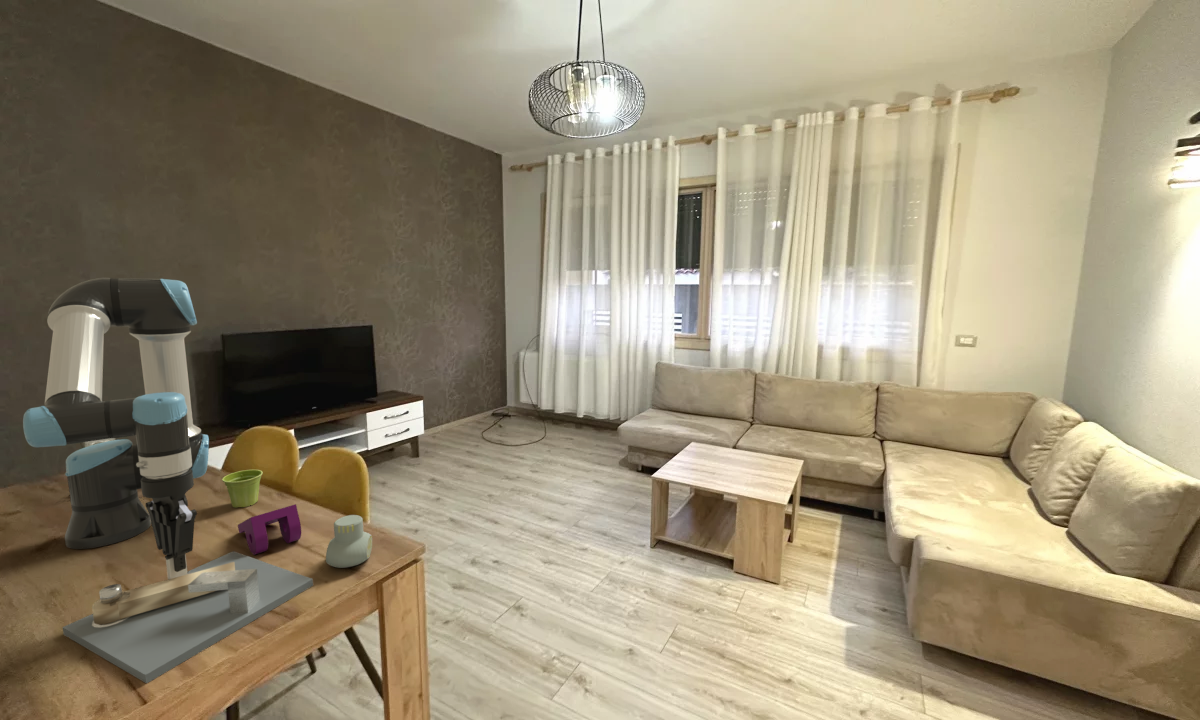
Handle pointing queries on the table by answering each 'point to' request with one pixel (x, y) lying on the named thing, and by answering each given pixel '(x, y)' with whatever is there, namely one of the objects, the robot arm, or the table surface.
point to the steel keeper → (231, 587)
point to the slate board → (184, 622)
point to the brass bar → (151, 597)
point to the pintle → (108, 596)
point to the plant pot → (243, 487)
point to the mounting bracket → (257, 524)
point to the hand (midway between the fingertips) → (178, 583)
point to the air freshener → (349, 543)
